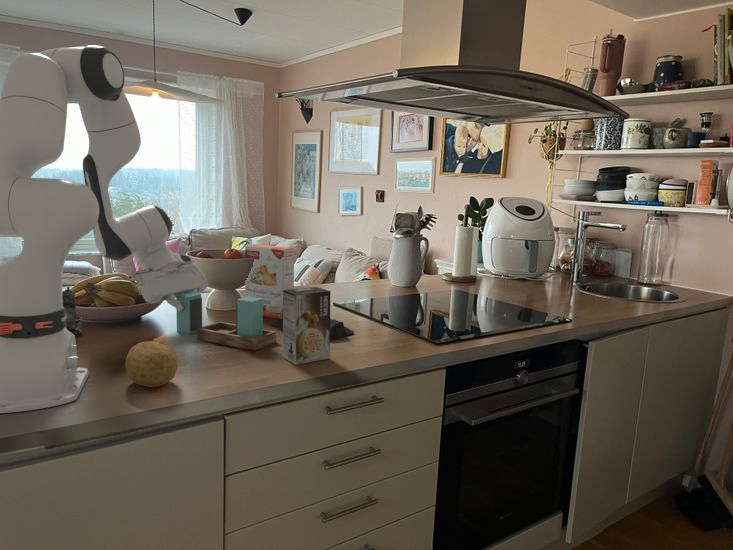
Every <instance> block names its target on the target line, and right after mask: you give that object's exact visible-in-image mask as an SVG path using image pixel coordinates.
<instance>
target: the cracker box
mask: <svg viewBox="0 0 733 550" xmlns="http://www.w3.org/2000/svg"><path fill="white" fill-rule="evenodd" d="M244 250H245V251H244V259H245V258H253V259H254V262H253V267H252V268H251V271H250V273H249V275H248V278H246V279H247V280H245V279H244V298H245V297H248V296H249V297H255V298H262V299H263V317H265V318H271V319H277V320H280V319H282V318H283V290H289V289H295V287H294V286H295V285H294V283H295V281H294V280H295V248H293V247H286V246H277V245H266V244H259V243H255V244H247V245H245V246H244ZM260 264H261V266H260ZM258 270H259V271H258ZM250 280H251V281H250ZM248 282H249V283H248ZM245 284H246V285H245Z"/></svg>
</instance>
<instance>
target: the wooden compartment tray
mask: <svg viewBox="0 0 733 550" xmlns="http://www.w3.org/2000/svg"><path fill="white" fill-rule="evenodd" d="M196 339H197V340H199V341H200V340H201V341H206V342H211V343H215V344H221V345H224V346H231V347H235V348H238V349H239V348H240V349H245V350H250V351H254V352H255V351H258V350H261V349H262V348H265V347H268V346H270V345H273V344H274V343H276V342H277V331H276V330H269V329H265V328H263V335H262V336H260V337H257V338H250V337H244V336H239V335H236V324H235V323H230V322H225V321H218V322H217V321H216V322H213V323H211V324H207V325H204V326H202V327H200V328H197V332H196Z"/></svg>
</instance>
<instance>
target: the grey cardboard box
mask: <svg viewBox="0 0 733 550" xmlns="http://www.w3.org/2000/svg"><path fill="white" fill-rule="evenodd" d="M331 293H332V292H331V290H327V289H324V288H322V287H318V286H312V287H311V286H310V287H303V288H302V287H301V288H294V289H289V290H283V331H282V357H283V359H285V360H286V361H288V362H290V363H292V364H294V365H297V366H298V365H302V364H303V365H304V364H307V363H311V362H317V361H323V360H328V359H331V340H330V318H331Z"/></svg>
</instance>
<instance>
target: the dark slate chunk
mask: <svg viewBox="0 0 733 550" xmlns="http://www.w3.org/2000/svg"><path fill="white" fill-rule="evenodd" d="M271 327H273V328H274V329H278V330H279V331H282V332H283V318H282V319H277V320H276V321H274V322H273V323H272V324H271ZM354 334H355V332H354V330H352V329H350V328H349V327H347V326H345V325H344V321H339V320H337V319H332V318H331V317H330V341H335V340H338V339H344V338H346V337H349V336H352V335H354Z"/></svg>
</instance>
